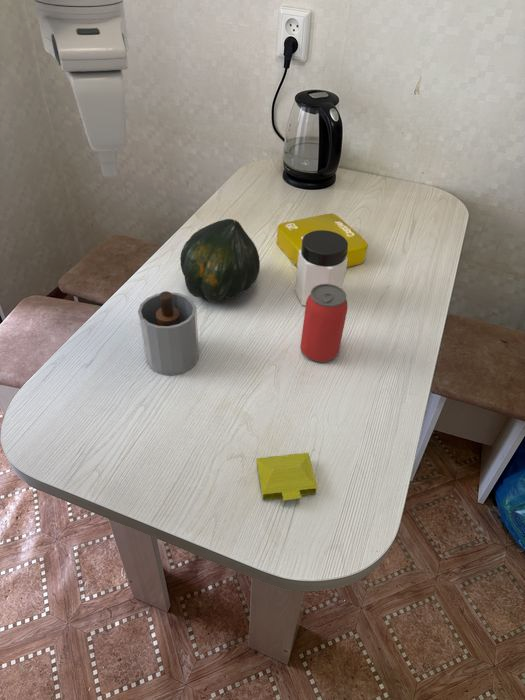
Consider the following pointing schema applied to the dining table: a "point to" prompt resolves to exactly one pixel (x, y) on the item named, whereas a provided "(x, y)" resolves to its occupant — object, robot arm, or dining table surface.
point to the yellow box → (296, 230)
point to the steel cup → (170, 336)
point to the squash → (220, 261)
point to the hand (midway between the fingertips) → (105, 158)
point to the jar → (320, 262)
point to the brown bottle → (167, 311)
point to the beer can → (324, 322)
